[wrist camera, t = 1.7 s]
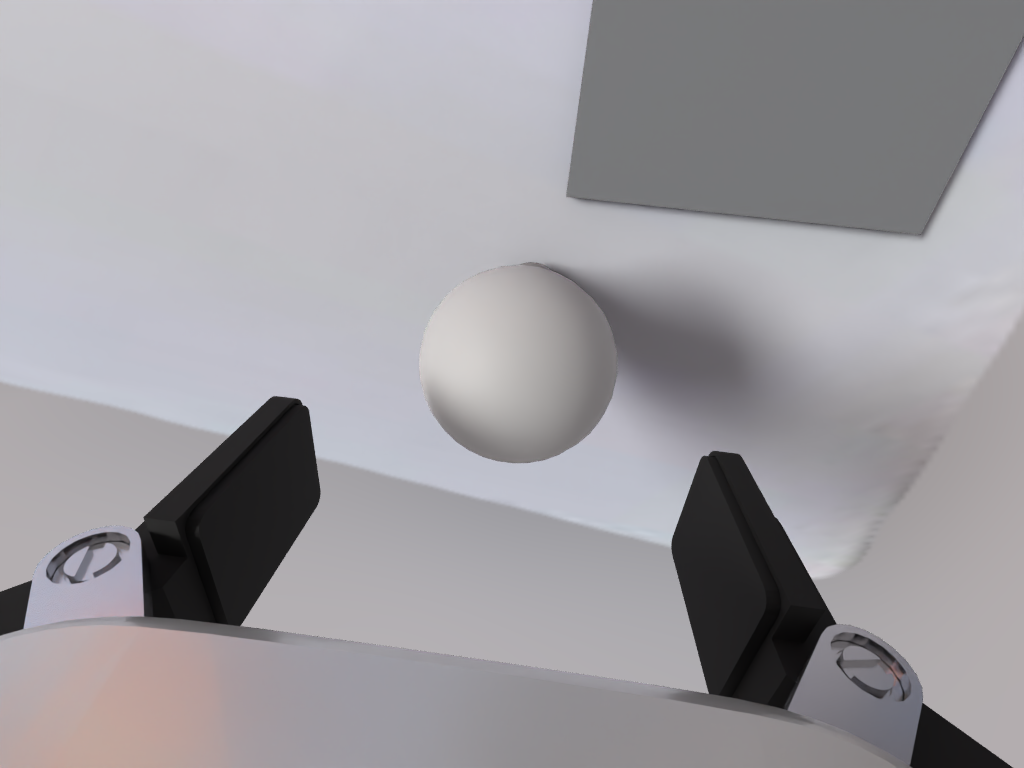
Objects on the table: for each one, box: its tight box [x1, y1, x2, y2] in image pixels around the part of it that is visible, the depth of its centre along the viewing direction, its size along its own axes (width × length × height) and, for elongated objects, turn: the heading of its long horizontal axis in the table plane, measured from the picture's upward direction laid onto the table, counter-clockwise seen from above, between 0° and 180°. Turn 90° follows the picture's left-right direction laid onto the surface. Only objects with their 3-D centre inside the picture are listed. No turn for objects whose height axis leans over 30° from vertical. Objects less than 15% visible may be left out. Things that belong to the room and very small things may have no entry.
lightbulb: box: [419, 262, 617, 463], centre depth 17 cm, size 6×6×11 cm
